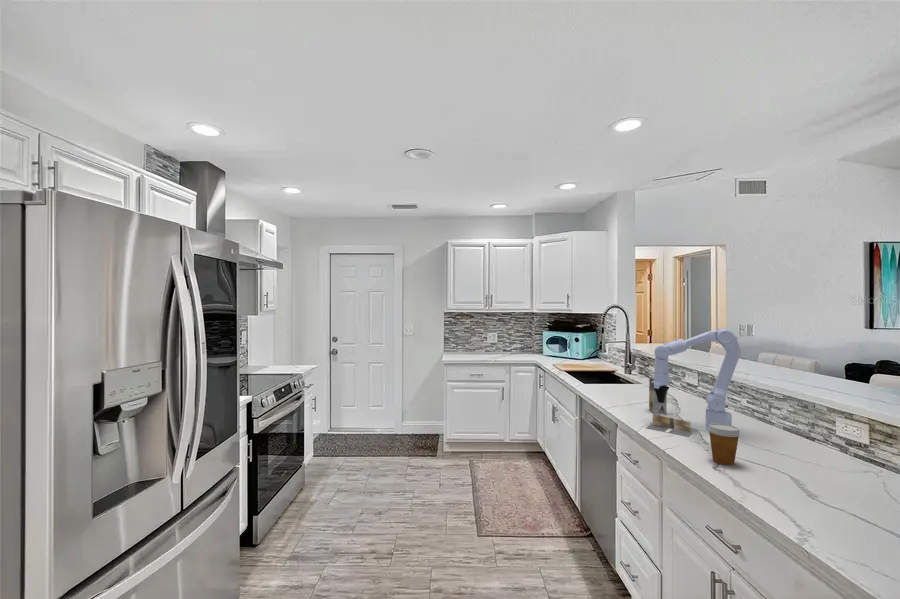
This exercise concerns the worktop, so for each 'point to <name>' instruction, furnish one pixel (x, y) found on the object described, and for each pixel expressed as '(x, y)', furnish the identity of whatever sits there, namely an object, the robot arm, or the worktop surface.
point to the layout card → (671, 430)
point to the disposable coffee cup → (723, 442)
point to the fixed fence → (682, 425)
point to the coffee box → (656, 401)
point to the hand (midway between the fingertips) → (661, 402)
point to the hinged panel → (663, 421)
